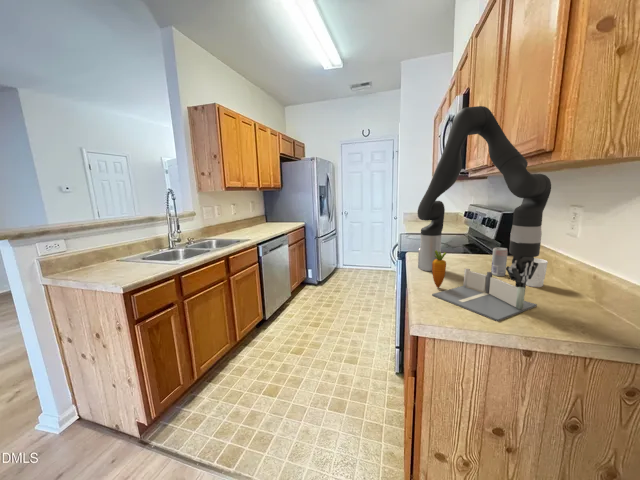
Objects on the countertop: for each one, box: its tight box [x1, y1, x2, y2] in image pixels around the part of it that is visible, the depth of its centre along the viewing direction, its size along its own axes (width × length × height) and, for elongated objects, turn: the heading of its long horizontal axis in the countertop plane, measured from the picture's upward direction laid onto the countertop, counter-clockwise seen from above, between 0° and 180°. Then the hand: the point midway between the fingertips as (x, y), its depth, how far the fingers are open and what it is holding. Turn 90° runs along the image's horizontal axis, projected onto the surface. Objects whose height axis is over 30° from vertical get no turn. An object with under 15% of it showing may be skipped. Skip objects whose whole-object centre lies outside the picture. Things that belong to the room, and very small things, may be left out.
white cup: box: [526, 257, 549, 288], centre depth 103 cm, size 8×8×10 cm
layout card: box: [431, 285, 538, 322], centre depth 90 cm, size 23×21×1 cm
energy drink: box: [490, 246, 509, 277], centre depth 117 cm, size 5×5×12 cm
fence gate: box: [489, 276, 526, 309], centre depth 87 cm, size 13×2×7 cm, turn 5°
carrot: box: [431, 250, 447, 289], centre depth 102 cm, size 5×5×15 cm
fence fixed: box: [462, 267, 493, 294], centre depth 98 cm, size 10×2×8 cm, turn 26°
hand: (519, 292), depth 85 cm, fingers closed
